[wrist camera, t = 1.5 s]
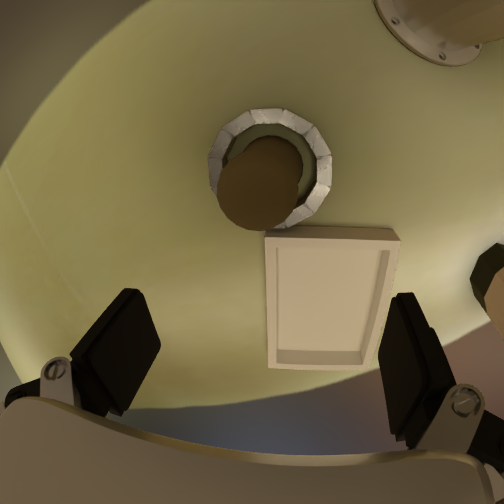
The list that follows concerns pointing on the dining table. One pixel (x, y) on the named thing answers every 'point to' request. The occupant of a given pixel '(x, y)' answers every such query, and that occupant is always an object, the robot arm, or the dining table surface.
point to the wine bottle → (491, 284)
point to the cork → (261, 184)
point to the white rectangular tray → (327, 294)
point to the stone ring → (294, 122)
